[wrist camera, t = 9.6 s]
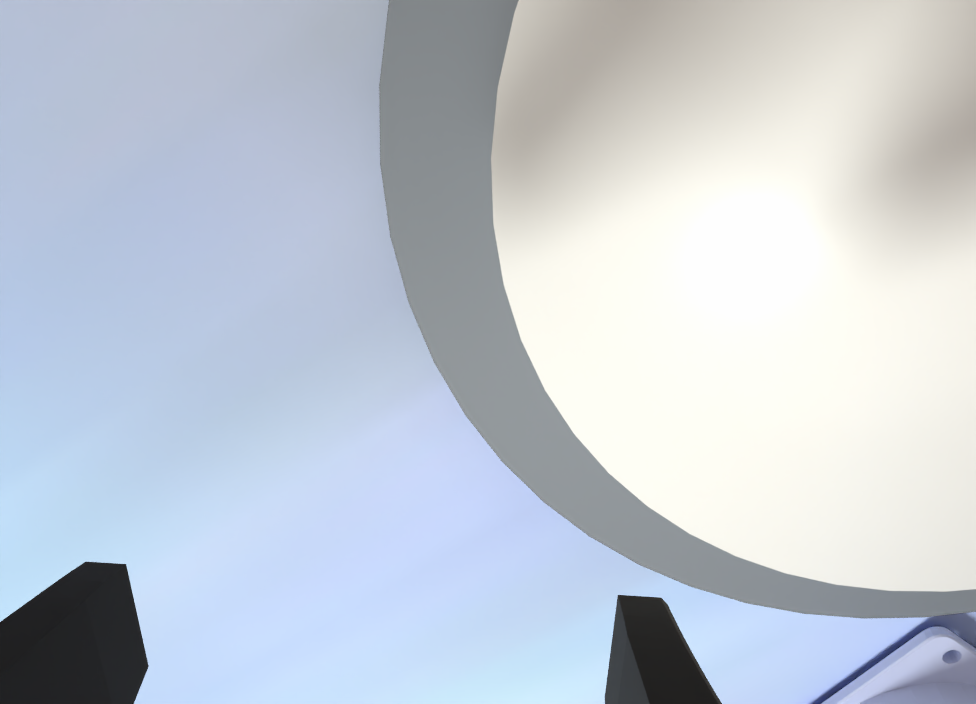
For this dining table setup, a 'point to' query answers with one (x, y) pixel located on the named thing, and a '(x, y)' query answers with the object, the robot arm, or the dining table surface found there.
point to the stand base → (491, 325)
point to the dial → (756, 267)
